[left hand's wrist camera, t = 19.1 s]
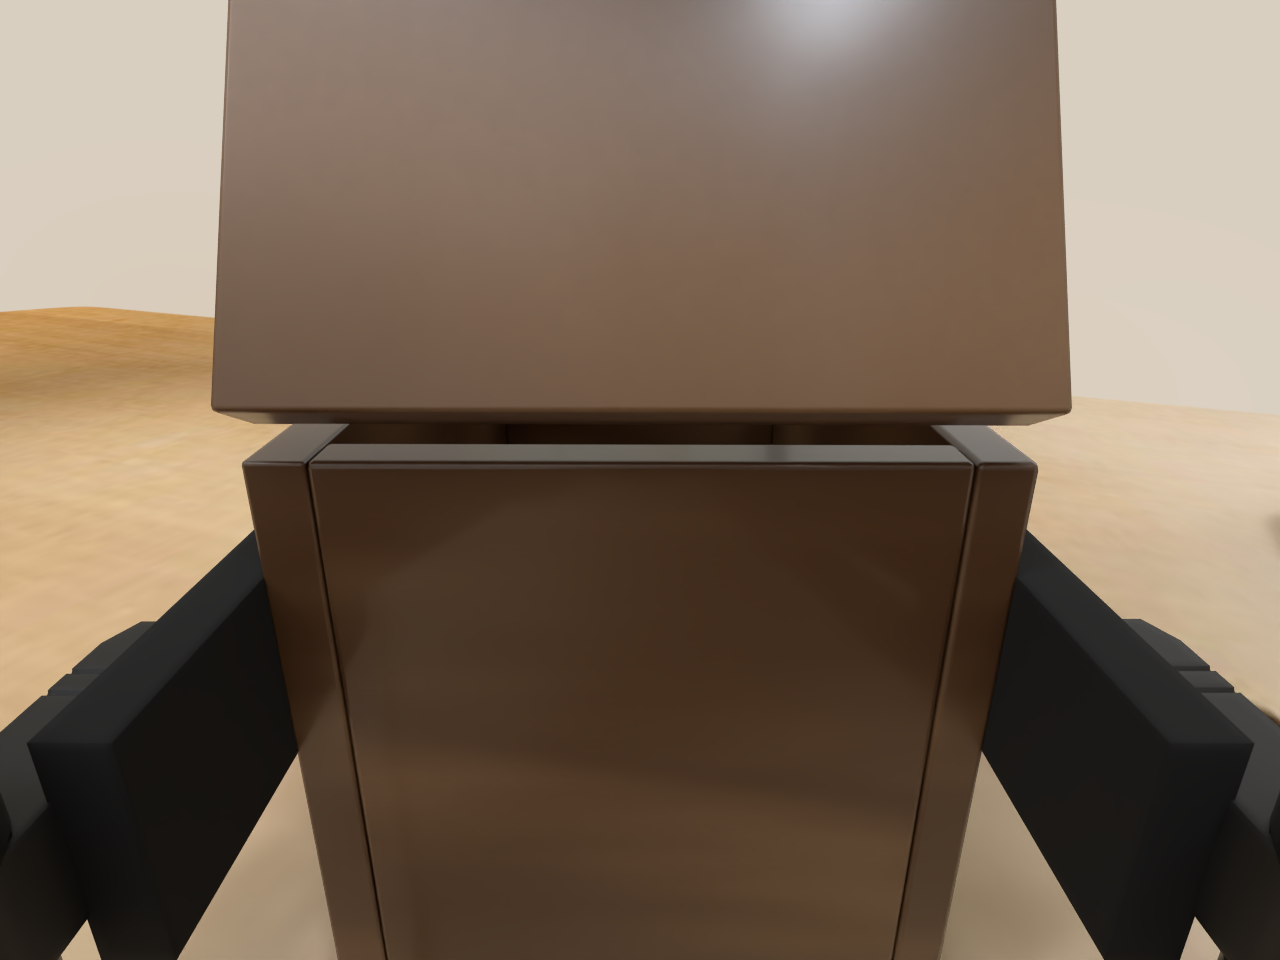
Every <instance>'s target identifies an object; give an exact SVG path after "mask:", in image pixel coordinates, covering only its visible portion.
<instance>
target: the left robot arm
mask: <svg viewBox="0 0 1280 960" xmlns="http://www.w3.org/2000/svg"><path fill="white" fill-rule="evenodd" d="M982 752H983V754H984V755H985V757H986V759H987V760H988V762H989V764H990V765H991V767H992V769H993V771H994V772H995V774H996V776H997V777H998V779H999V781H1000V783H1001V784H1002V786H1003V788H1004V789H1005V791H1006V793H1007V795H1008V796H1009V798H1010V800H1011V801H1012V803H1013V805H1014V807H1015V808H1016V810H1017V812H1018V813H1019V815H1020V817H1021V818H1022V820H1023V822H1024V824H1025V825H1026V827H1027V829H1028V830H1029V832H1030V834H1031V836H1032V837H1033V839H1034V841H1035V842H1036V844H1037V846H1038V848H1039V849H1040V851H1041V853H1042V854H1043V856H1044V858H1045V860H1046V861H1047V863H1048V865H1049V866H1050V868H1051V870H1052V871H1053V873H1054V875H1055V877H1056V878H1057V880H1058V882H1059V883H1060V885H1061V887H1062V889H1063V890H1064V892H1065V894H1066V895H1067V897H1068V899H1069V901H1070V902H1071V904H1072V906H1073V907H1074V909H1075V911H1076V913H1077V914H1078V916H1079V918H1080V919H1081V921H1082V923H1083V924H1084V926H1085V928H1086V930H1087V931H1088V933H1089V935H1090V936H1091V938H1092V940H1093V942H1094V943H1095V945H1096V947H1097V948H1098V950H1099V952H1100V954H1101V955H1102V957H1103V959H1104V960H1180V958H1181V955H1182V952H1183V949H1184V946H1185V943H1186V940H1187V938H1188V935H1189V932H1190V929H1191V926H1192V923H1193V920H1194V917H1196V918H1197V920H1198V921H1199V922H1200V924H1201V925H1202V926H1203V928H1204V929H1205V931H1206V932H1207V933H1208V935H1209V936H1210V937H1211V939H1212V940H1213V941H1214V943H1215V944H1216V945H1217V947H1218V948H1219V949H1220V951H1221V952H1220V954H1219V957H1218V960H1280V727H1279V726H1278V725H1277V724H1275V723H1274V722H1273V721H1272V720H1271V719H1270V718H1269V717H1267V716H1266V715H1265V714H1264V713H1263V712H1262V711H1261V710H1259V709H1258V708H1257V707H1256V706H1255V705H1254V704H1253V703H1251V702H1250V701H1249V700H1248V699H1247V698H1246V697H1245V696H1243V695H1242V694H1241V693H1235V692H1234V687H1233V686H1232V685H1231V684H1230V683H1229V682H1227V681H1226V680H1225V679H1224V678H1223V677H1222V676H1221V675H1219V674H1218V673H1217V672H1216V671H1210V666H1209V665H1208V664H1207V663H1206V662H1205V661H1203V660H1202V659H1201V658H1200V657H1199V656H1198V655H1197V654H1195V653H1194V652H1193V651H1192V650H1191V649H1190V648H1189V647H1187V646H1186V645H1185V644H1184V643H1183V642H1182V641H1180V640H1179V639H1177V638H1175V637H1173V636H1171V635H1169V634H1167V633H1166V632H1164V631H1162V630H1160V629H1158V628H1156V627H1154V626H1152V625H1151V624H1149V623H1147V622H1145V621H1143V620H1141V619H1121V618H1120V617H1119V616H1118V615H1117V614H1116V613H1115V612H1114V611H1113V610H1112V609H1111V608H1110V607H1109V606H1108V605H1107V604H1105V603H1104V602H1103V601H1102V600H1101V599H1100V598H1099V597H1098V596H1097V595H1096V594H1095V593H1094V592H1093V591H1092V590H1091V589H1089V588H1088V587H1087V586H1086V585H1085V584H1084V583H1083V582H1082V581H1081V580H1080V579H1079V578H1078V577H1077V576H1076V575H1075V574H1073V573H1072V572H1071V571H1070V570H1069V569H1068V568H1067V567H1066V566H1065V565H1064V564H1063V563H1062V562H1061V561H1060V560H1059V559H1057V558H1056V557H1055V556H1054V555H1053V554H1052V553H1051V552H1050V551H1049V550H1048V549H1047V548H1046V547H1045V546H1044V545H1043V544H1041V543H1040V542H1039V541H1038V540H1037V539H1036V538H1035V537H1034V536H1033V535H1032V534H1031V533H1030V532H1029V531H1028V530H1027V529H1026V533H1025V538H1024V543H1023V548H1022V553H1021V558H1020V563H1019V568H1018V573H1017V577H1016V582H1015V587H1014V592H1013V597H1012V602H1011V607H1010V612H1009V617H1008V622H1007V627H1006V632H1005V637H1004V642H1003V648H1002V653H1001V658H1000V663H999V668H998V673H997V678H996V682H995V687H994V692H993V697H992V702H991V707H990V712H989V717H988V722H987V727H986V732H985V737H984V742H983V747H982ZM297 753H298V749H297V744H296V739H295V734H294V729H293V724H292V719H291V714H290V708H289V703H288V698H287V693H286V688H285V683H284V678H283V673H282V668H281V663H280V658H279V653H278V648H277V642H276V637H275V632H274V627H273V622H272V617H271V612H270V607H269V602H268V597H267V592H266V587H265V581H264V576H263V571H262V566H261V561H260V556H259V551H258V546H257V540H256V535H255V530H253V531H252V532H251V533H250V534H249V535H248V536H247V537H246V538H245V539H244V540H243V541H242V542H241V543H239V544H238V545H237V546H236V547H235V548H234V549H233V550H232V551H231V552H230V553H229V554H228V555H227V556H226V557H225V558H223V559H222V560H221V561H220V562H219V563H218V564H217V565H216V566H215V567H214V568H213V569H212V570H211V571H210V572H209V573H207V574H206V575H205V576H204V577H203V578H202V579H201V580H200V581H199V582H198V583H197V584H196V585H195V586H194V587H193V588H192V589H190V590H189V591H188V592H187V593H186V594H185V595H184V596H183V597H182V598H181V599H180V600H179V601H178V602H177V603H176V604H174V605H173V606H172V607H171V608H170V609H169V610H168V611H167V612H166V613H165V614H164V615H163V616H162V617H161V618H160V619H158V620H157V621H156V622H140V623H138V624H136V625H134V626H132V627H130V628H129V629H127V630H125V631H123V632H121V633H119V634H117V635H116V636H114V637H112V638H110V639H108V640H106V641H104V642H103V643H101V644H100V645H99V646H98V647H96V648H95V649H94V650H93V651H92V652H91V653H90V654H88V655H87V656H86V657H85V658H84V659H83V660H82V661H81V662H79V663H78V664H77V665H76V666H75V667H74V668H73V669H72V674H66V675H65V676H64V677H62V678H61V679H60V680H59V681H58V682H57V683H56V684H54V685H53V686H52V687H51V688H50V689H49V690H48V695H47V696H41V697H40V698H39V699H37V700H36V701H35V702H34V703H33V704H32V705H31V706H30V707H28V708H27V709H26V710H25V711H24V712H23V713H22V714H20V715H19V716H18V717H17V718H16V719H15V720H14V721H13V722H11V723H10V724H9V725H8V726H7V727H6V728H5V729H3V730H2V731H1V732H0V960H62V957H61V954H62V953H63V951H64V950H65V949H66V947H67V946H68V945H69V943H70V942H71V940H72V939H73V938H74V936H75V935H76V934H77V932H78V931H79V930H80V928H81V927H82V925H83V924H84V923H85V921H86V920H88V923H89V925H90V928H91V931H92V934H93V937H94V940H95V943H96V946H97V949H98V952H99V954H100V957H101V960H177V959H178V957H179V955H180V953H181V952H182V950H183V948H184V947H185V945H186V943H187V941H188V940H189V938H190V936H191V935H192V933H193V931H194V929H195V928H196V926H197V924H198V923H199V921H200V919H201V917H202V916H203V914H204V912H205V911H206V909H207V907H208V906H209V904H210V902H211V900H212V899H213V897H214V895H215V894H216V892H217V890H218V888H219V887H220V885H221V883H222V882H223V880H224V878H225V876H226V875H227V873H228V871H229V870H230V868H231V866H232V864H233V863H234V861H235V859H236V858H237V856H238V854H239V852H240V851H241V849H242V847H243V846H244V844H245V842H246V841H247V839H248V837H249V835H250V834H251V832H252V830H253V829H254V827H255V825H256V823H257V822H258V820H259V818H260V817H261V815H262V813H263V811H264V810H265V808H266V806H267V805H268V803H269V801H270V799H271V798H272V796H273V794H274V793H275V791H276V789H277V787H278V786H279V784H280V782H281V781H282V779H283V777H284V776H285V774H286V772H287V770H288V769H289V767H290V765H291V764H292V762H293V760H294V758H295V757H296V755H297Z"/></svg>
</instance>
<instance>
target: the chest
mask: <svg viewBox="0 0 1280 960" xmlns="http://www.w3.org/2000/svg"><path fill="white" fill-rule="evenodd" d="M242 468H243V474H244V479H245V484H246V489H247V494H248V499H249V504H250V510H251V515H252V520H253V525H254V530H255V535H256V540H257V546H258V551H259V556H260V561H261V566H262V571H263V576H264V581H265V587H266V592H267V597H268V602H269V607H270V612H271V617H272V622H273V627H274V632H275V637H276V642H277V648H278V653H279V658H280V663H281V668H282V673H283V678H284V683H285V688H286V693H287V698H288V703H289V708H290V714H291V719H292V724H293V729H294V734H295V739H296V744H297V749H298V756H299V761H300V767H301V772H302V777H303V782H304V787H305V792H306V797H307V803H308V808H309V813H310V818H311V823H312V828H313V833H314V839H315V844H316V849H317V854H318V859H319V864H320V869H321V875H322V880H323V885H324V890H325V895H326V900H327V905H328V911H329V916H330V921H331V926H332V931H333V936H334V941H335V947H336V952H337V957H338V960H940V956H941V951H942V946H943V941H944V936H945V931H946V926H947V921H948V916H949V911H950V906H951V901H952V896H953V891H954V886H955V881H956V876H957V871H958V867H959V862H960V857H961V852H962V847H963V842H964V837H965V832H966V827H967V822H968V817H969V812H970V807H971V802H972V797H973V792H974V787H975V782H976V777H977V772H978V767H979V762H980V757H981V752H982V747H983V742H984V737H985V732H986V727H987V722H988V717H989V712H990V707H991V702H992V697H993V692H994V687H995V682H996V678H997V673H998V668H999V663H1000V658H1001V653H1002V648H1003V642H1004V637H1005V632H1006V627H1007V622H1008V617H1009V612H1010V607H1011V602H1012V597H1013V592H1014V587H1015V582H1016V577H1017V573H1018V568H1019V563H1020V558H1021V553H1022V548H1023V543H1024V538H1025V533H1026V528H1027V523H1028V518H1029V513H1030V508H1031V503H1032V498H1033V494H1034V489H1035V484H1036V479H1037V474H1038V467H1037V464H1036V463H1035V462H1034V461H1033V460H1031V459H1030V458H1029V457H1027V456H1026V455H1025V454H1023V453H1022V452H1021V451H1019V450H1018V449H1017V448H1015V447H1014V446H1013V445H1011V444H1010V443H1009V442H1007V441H1006V440H1005V439H1004V438H1002V437H1001V436H1000V435H998V434H997V433H996V432H994V431H993V430H992V429H990V428H989V427H988V426H986V425H591V424H292V425H291V426H290V427H289V428H287V429H286V430H285V431H283V432H282V433H281V434H279V435H278V436H277V437H275V438H274V439H273V440H271V441H270V442H269V443H267V444H266V445H265V446H263V447H262V448H261V449H259V450H258V451H257V452H255V453H254V454H253V455H251V456H250V457H249V458H248V459H246V460H245V461H244V462H243V463H242Z"/></svg>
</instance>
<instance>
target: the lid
mask: <svg viewBox="0 0 1280 960" xmlns="http://www.w3.org/2000/svg"><path fill="white" fill-rule="evenodd" d="M211 406H212V410H213V411H215V412H218V413H221V414H224V415H227V416H231V417H234V418H237V419H241V420H244V421H247V422H250V423H254V424H591V425H1009V426H1028V425H1032V424H1035V423H1038V422H1042V421H1045V420H1049V419H1052V418H1055V417H1059V416H1062V415H1065V414H1068V413H1070V411H1071V408H1072V402H1071V376H1070V351H1069V324H1068V298H1067V272H1066V247H1065V221H1064V195H1063V169H1062V143H1061V117H1060V92H1059V67H1058V40H1057V14H1056V0H228V23H227V47H226V70H225V93H224V117H223V140H222V164H221V187H220V211H219V234H218V257H217V281H216V304H215V328H214V351H213V374H212V398H211Z"/></svg>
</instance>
